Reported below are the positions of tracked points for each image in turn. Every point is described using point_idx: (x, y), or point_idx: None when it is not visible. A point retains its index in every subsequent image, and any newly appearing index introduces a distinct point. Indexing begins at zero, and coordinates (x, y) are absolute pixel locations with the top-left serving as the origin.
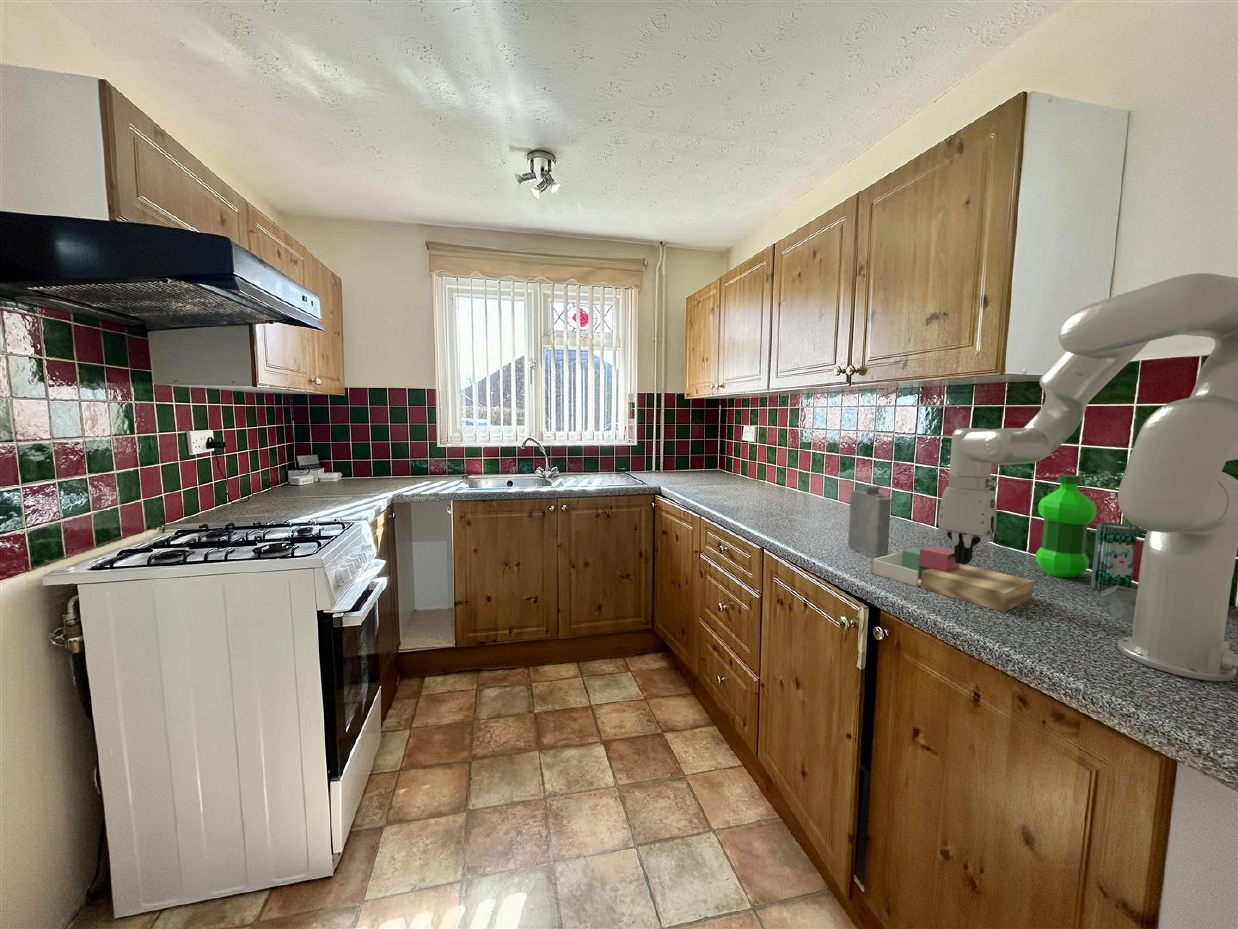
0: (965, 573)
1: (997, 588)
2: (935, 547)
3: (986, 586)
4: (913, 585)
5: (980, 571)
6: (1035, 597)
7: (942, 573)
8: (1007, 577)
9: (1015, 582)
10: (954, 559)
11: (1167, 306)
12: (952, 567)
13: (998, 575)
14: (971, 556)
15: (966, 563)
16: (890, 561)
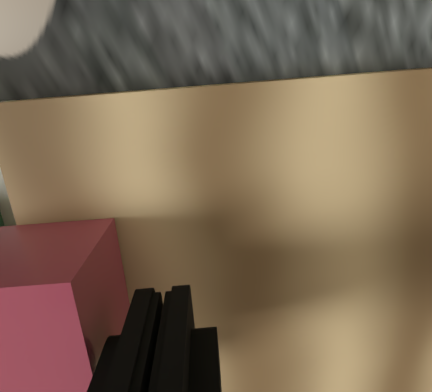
0: (198, 289)
1: (399, 376)
2: None
3: (357, 390)
4: None
5: (218, 169)
6: (426, 24)
7: None
8: (369, 146)
9: (430, 208)
10: (107, 328)
11: None
12: (124, 310)
13: (320, 155)
14: (218, 354)
15: (193, 323)
16: None
